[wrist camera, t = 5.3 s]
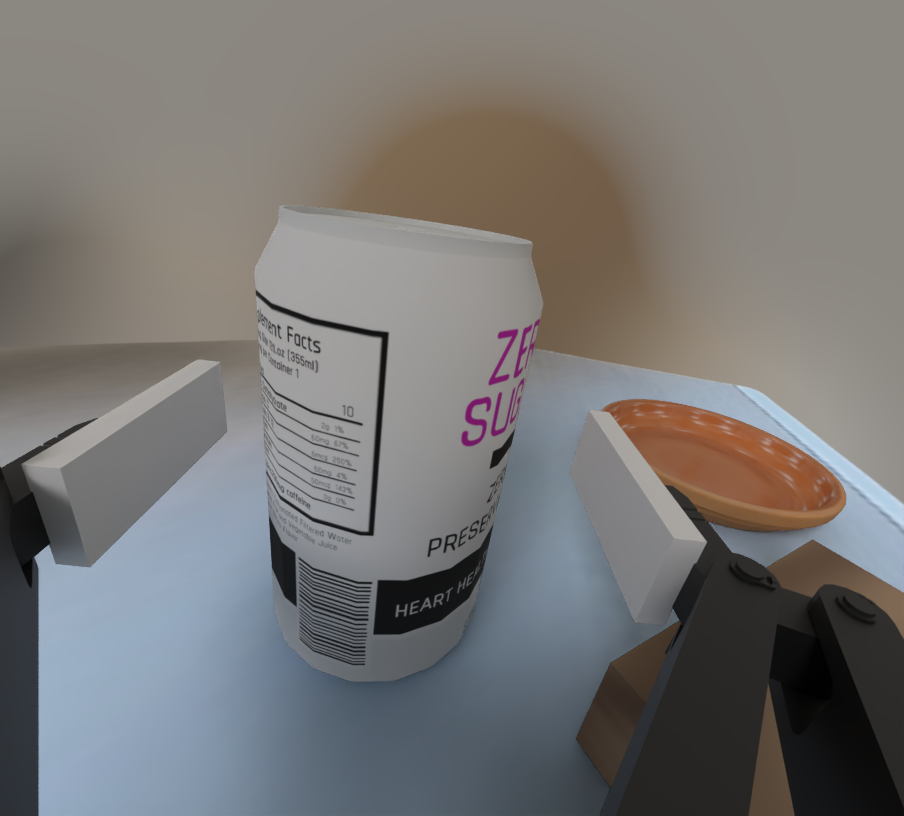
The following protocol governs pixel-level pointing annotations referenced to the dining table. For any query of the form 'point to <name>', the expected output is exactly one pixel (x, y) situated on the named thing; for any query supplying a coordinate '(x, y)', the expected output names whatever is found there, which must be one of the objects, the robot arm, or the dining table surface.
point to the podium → (771, 797)
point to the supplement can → (386, 427)
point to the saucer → (730, 467)
